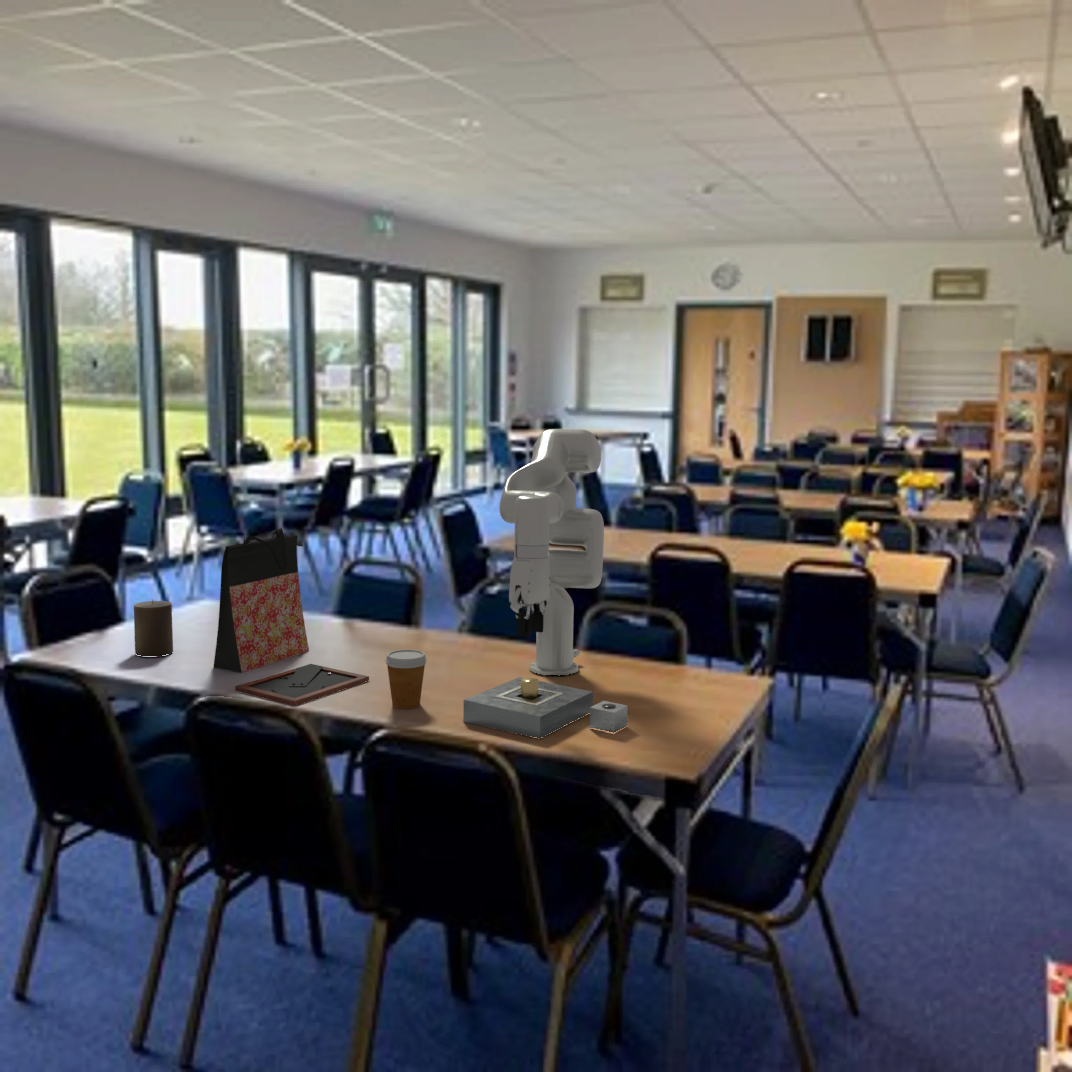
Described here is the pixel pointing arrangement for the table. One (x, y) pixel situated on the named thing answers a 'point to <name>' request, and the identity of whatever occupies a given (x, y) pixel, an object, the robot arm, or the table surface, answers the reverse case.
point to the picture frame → (301, 684)
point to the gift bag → (260, 604)
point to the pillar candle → (153, 628)
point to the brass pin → (529, 688)
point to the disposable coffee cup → (406, 677)
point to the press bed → (527, 708)
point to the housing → (608, 716)
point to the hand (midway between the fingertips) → (530, 632)
